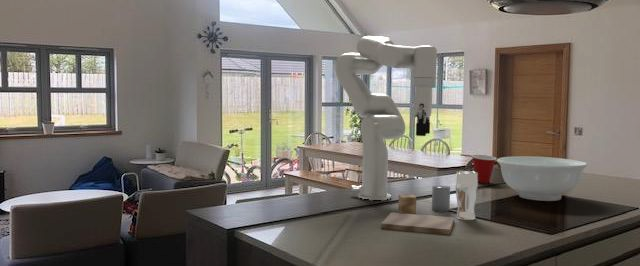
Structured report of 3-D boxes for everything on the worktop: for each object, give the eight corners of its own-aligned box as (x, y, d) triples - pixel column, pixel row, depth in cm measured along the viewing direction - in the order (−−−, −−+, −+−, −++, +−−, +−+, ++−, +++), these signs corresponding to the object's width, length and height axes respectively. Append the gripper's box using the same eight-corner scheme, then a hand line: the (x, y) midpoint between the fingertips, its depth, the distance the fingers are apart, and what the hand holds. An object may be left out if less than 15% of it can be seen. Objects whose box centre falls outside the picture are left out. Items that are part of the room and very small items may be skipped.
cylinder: (430, 210, 192) (431, 187, 192) (432, 207, 198) (433, 184, 197) (448, 212, 191) (449, 189, 190) (450, 208, 196) (450, 186, 196)
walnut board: (381, 228, 167) (381, 223, 167) (391, 216, 182) (391, 212, 182) (449, 234, 161) (449, 229, 161) (454, 222, 176) (454, 217, 176)
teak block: (400, 215, 185) (401, 197, 185) (398, 211, 190) (398, 194, 190) (415, 215, 186) (416, 197, 185) (412, 212, 190) (413, 194, 190)
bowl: (498, 187, 240) (500, 153, 239) (582, 193, 228) (584, 158, 227) (492, 201, 210) (494, 162, 209) (588, 209, 198) (590, 168, 197)
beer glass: (477, 221, 178) (479, 174, 177) (454, 220, 179) (456, 173, 178) (475, 216, 185) (477, 171, 184) (454, 215, 186) (455, 170, 185)
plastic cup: (488, 185, 245) (489, 158, 244) (466, 182, 252) (467, 155, 251) (500, 182, 252) (501, 156, 251) (477, 179, 260) (478, 153, 259)
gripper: (416, 83, 196) (415, 132, 198) (409, 83, 180) (407, 136, 181) (438, 83, 194) (437, 133, 195) (432, 83, 178) (431, 137, 179)
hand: (422, 134), depth 188 cm, fingers open, 9 cm apart
